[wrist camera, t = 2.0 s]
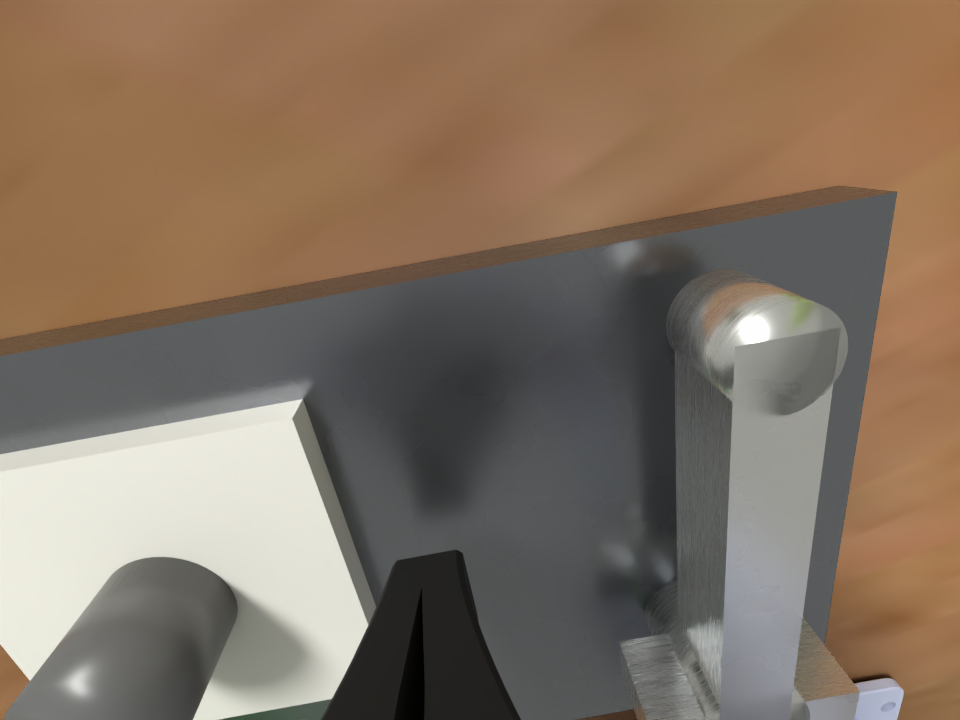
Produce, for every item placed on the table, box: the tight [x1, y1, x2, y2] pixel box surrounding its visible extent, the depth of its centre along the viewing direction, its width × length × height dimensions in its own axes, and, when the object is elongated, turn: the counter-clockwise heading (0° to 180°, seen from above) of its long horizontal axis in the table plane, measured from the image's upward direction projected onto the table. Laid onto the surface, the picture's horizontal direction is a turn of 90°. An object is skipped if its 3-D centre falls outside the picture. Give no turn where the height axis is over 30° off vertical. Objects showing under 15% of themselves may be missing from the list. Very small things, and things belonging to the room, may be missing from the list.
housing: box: [0, 186, 897, 720], centre depth 13 cm, size 14×21×2 cm, turn 99°
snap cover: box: [0, 399, 376, 720], centre depth 10 cm, size 8×8×4 cm
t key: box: [619, 269, 860, 720], centre depth 10 cm, size 11×4×3 cm, turn 9°
